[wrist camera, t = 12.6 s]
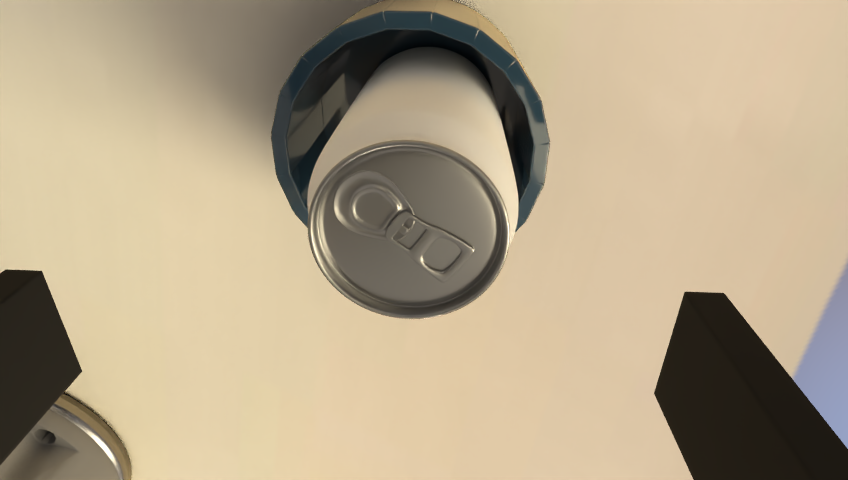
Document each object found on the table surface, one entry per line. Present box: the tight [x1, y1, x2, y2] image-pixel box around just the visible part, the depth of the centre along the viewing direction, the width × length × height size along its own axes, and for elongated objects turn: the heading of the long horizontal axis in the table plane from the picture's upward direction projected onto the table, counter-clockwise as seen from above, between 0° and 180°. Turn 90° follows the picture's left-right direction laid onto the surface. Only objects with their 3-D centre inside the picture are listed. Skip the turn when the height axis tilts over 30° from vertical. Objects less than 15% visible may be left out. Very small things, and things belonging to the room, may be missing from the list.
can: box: [307, 47, 518, 319], centre depth 20 cm, size 6×6×12 cm
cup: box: [271, 0, 550, 232], centre depth 23 cm, size 10×10×6 cm
